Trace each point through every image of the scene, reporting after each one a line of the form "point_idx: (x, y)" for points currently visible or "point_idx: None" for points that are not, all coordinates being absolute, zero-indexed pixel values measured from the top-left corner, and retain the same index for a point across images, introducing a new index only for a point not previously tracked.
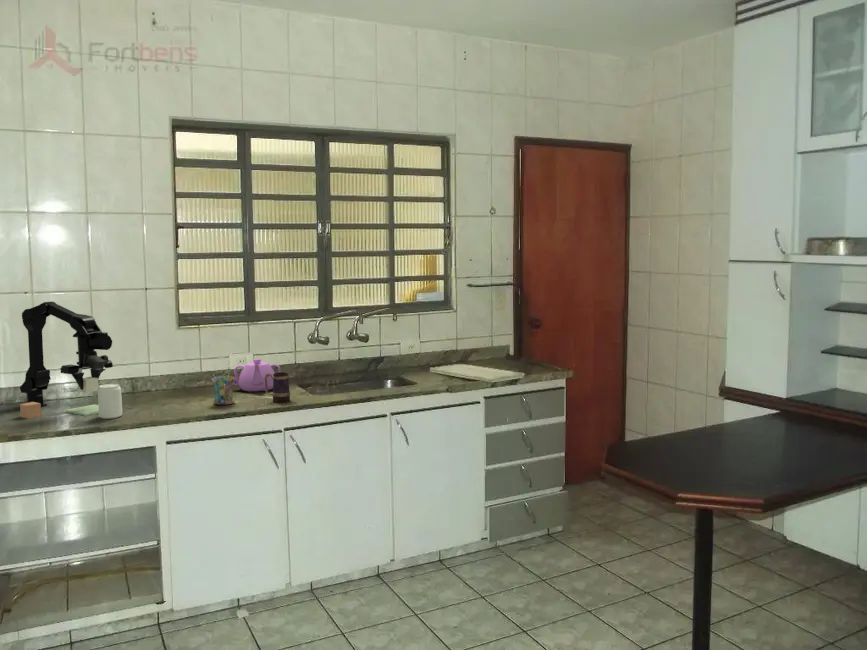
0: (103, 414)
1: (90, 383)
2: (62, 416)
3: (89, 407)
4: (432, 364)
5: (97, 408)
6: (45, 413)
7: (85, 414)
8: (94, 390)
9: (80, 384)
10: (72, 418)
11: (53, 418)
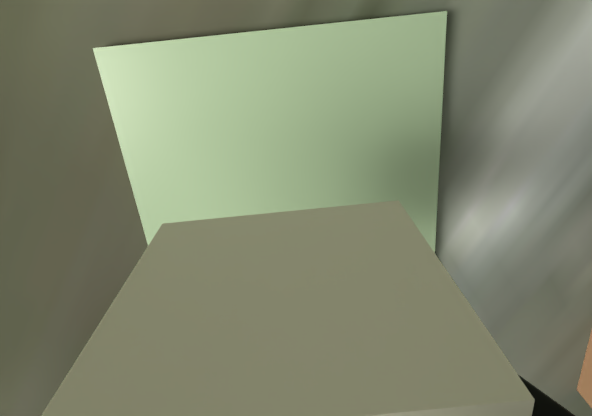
0: None
1: (327, 307)
2: (547, 174)
3: None
4: None
5: (229, 150)
6: (523, 361)
7: (436, 12)
8: (238, 220)
9: None
10: (575, 6)
11: None
